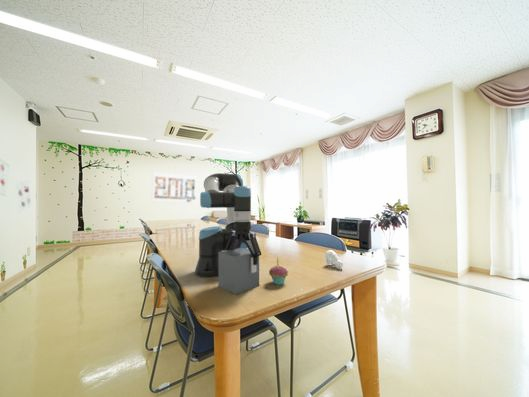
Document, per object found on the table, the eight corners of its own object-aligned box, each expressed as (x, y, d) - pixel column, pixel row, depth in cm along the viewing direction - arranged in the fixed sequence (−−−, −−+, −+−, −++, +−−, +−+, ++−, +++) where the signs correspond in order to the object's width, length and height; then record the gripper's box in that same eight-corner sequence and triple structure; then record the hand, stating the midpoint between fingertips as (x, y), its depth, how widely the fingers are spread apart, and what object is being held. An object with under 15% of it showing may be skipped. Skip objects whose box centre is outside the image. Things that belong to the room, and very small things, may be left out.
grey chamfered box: (218, 286, 88) (218, 252, 89) (241, 278, 97) (242, 247, 98) (235, 294, 80) (235, 257, 80) (259, 285, 89) (259, 251, 89)
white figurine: (332, 248, 122) (347, 255, 110) (331, 262, 122) (346, 270, 111) (323, 249, 120) (337, 256, 108) (323, 263, 120) (336, 272, 109)
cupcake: (286, 287, 87) (286, 258, 87) (267, 285, 89) (267, 257, 89) (288, 279, 96) (288, 254, 96) (270, 278, 97) (270, 253, 98)
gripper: (218, 220, 96) (218, 265, 95) (257, 222, 80) (257, 277, 79) (230, 219, 102) (230, 262, 101) (269, 221, 86) (269, 272, 85)
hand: (242, 269), depth 90 cm, fingers open, 13 cm apart
